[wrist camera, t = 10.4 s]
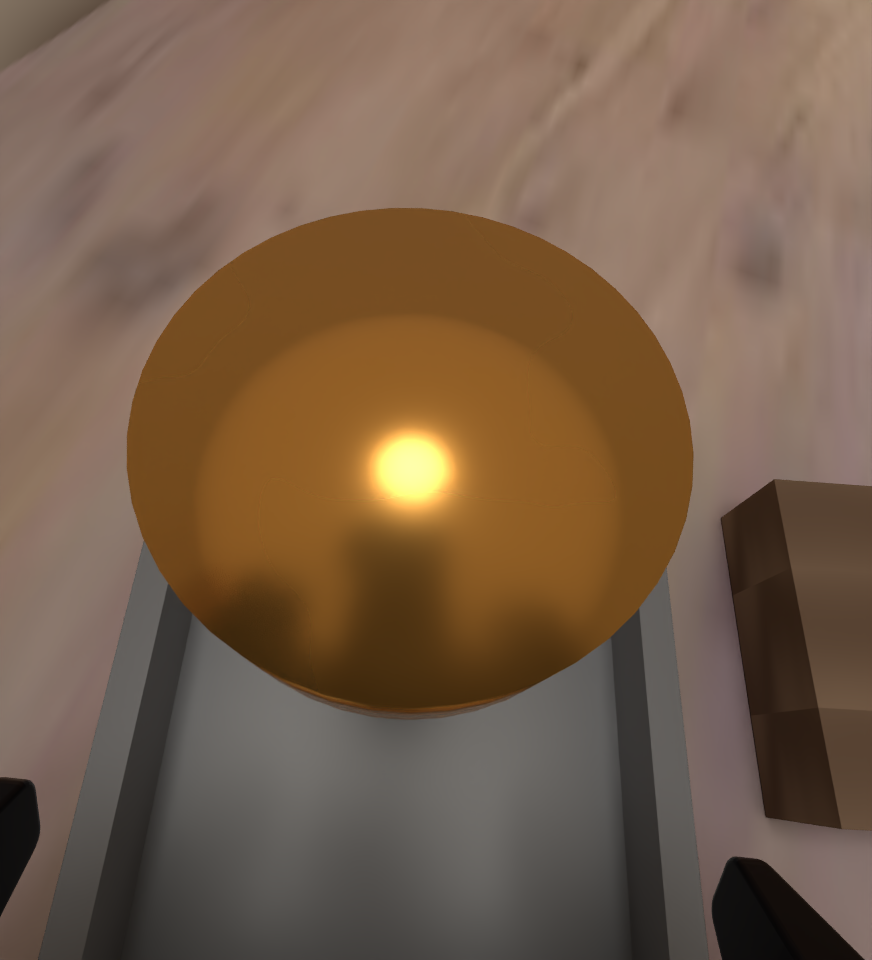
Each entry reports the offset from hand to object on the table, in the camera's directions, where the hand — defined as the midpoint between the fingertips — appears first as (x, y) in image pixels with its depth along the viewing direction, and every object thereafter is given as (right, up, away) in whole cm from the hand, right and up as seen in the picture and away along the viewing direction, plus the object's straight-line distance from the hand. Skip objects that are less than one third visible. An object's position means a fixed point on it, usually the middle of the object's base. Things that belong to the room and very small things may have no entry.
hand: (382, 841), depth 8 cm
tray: (0, -1, +9) cm, 9 cm away
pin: (0, 0, +8) cm, 8 cm away
